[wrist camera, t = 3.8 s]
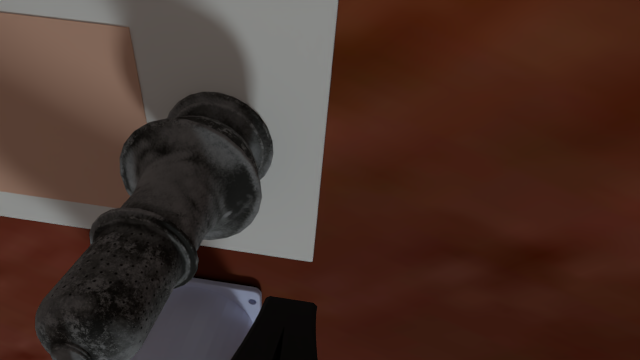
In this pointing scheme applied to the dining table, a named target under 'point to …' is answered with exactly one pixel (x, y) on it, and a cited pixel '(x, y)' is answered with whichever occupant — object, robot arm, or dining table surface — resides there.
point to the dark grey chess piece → (158, 225)
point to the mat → (160, 101)
